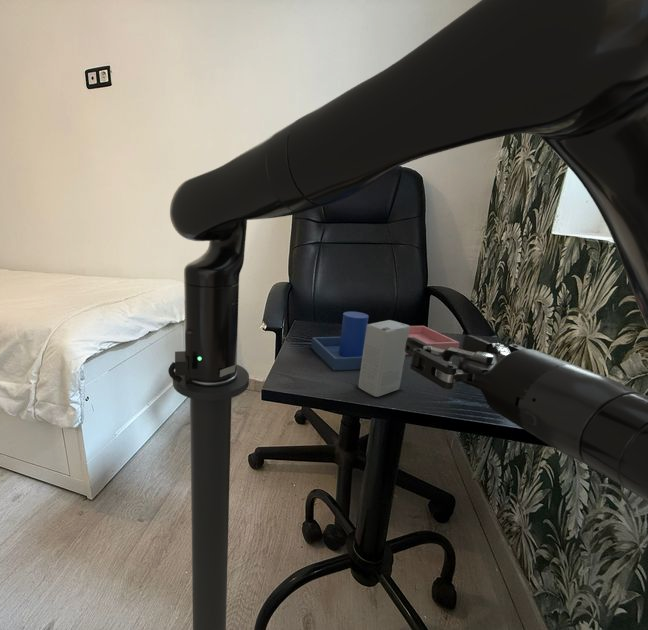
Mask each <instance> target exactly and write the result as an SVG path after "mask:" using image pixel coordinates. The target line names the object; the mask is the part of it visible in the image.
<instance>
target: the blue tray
mask: <svg viewBox="0 0 648 630" xmlns="http://www.w3.org/2000/svg"><path fill="white" fill-rule="evenodd" d="M340 338H341V336H321V337H320V336H319V337H318V336H316V337H311V346H310V347H311V349H312V351H314V352H315V353H316V354H317V355H318V356H319V357H320V358H321V359H322V361H323V362H325V364H327V366H329V367H330V368H331V370H333V371H348V370H349V371H351V370H352V371H353V370H361V363H362V357H342V356H340V355H339V347H340Z"/></svg>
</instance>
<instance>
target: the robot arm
mask: <svg viewBox="0 0 648 630" xmlns="http://www.w3.org/2000/svg"><path fill="white" fill-rule="evenodd" d="M520 134H528V135H531V136H537V137H539V138H540V139H541V140H542V141H543V142H544V143H545V144H547V146H549V148H550V149H551V150H552V151H553V152H554V153H555V154H557V156H558V157H559V158H560V159H561V160H562V162H563V163H564V164H565V165H566V166H567V167H568V168H569V169H570V170H571V171H572V173H573V174H574V175H575V176H576V177H577V179H578V180H579V182H580V183H581V184H582V186H583V187H584V189H585V191H587V193H588V194H589V196H590V198H591V199H592V201H593V203H594V205H595V206H596V208H597V209H598V212H599V213H600V215H601V217H602V219H603V221H604V222H605V225H606V227H607V229H608V232H609V234H610V236H611V239H612V241H613V243H614V246H615V248H616V251H617V254H618V256H619V259H620V262H621V264H622V267H623V270H624V273H625V275H626V278H627V281H628V283H629V286H630V289H631V292H632V295H633V296H634V299H635V302H636V304H637V305H636V306H637V307H638V309H639V312H640V315H641V316H642V319H643V321H644V323H645V325H646V328H647V329H648V0H480V1H479V2H477V3H475V4H474V5H473V6H472V7H469V9H467V10H465V12H463V13H462V14H461V15H459V16H458V17H457V18H455V19H454V20H452V21H451V22H450V23H449V24H447V25H446V26H444V27H443V28H442V29H440V30H439V31H437V32H436V33H435V34H433V35H432V36H431V37H429V38H428V39H427V40H425V41H424V42H423V43H421V44H419V45H418V46H417V47H416V48H414V49H413V50H411V51H410V52H408V53H407V54H405V55H404V56H403V57H401V58H400V59H399V60H397V61H396V62H394V63H392V64H390V65H389V66H388V67H386V68H384V69H383V70H381V71H379V72H378V73H376V74H375V75H373V76H371V77H368V78H367V79H366V80H365V79H364V80H363V81H362V82H360V83H357V85H355V86H353V87H351V88H350V89H347V90H346V91H344V92H343V93H341V94H340V95H338V96H336V97H334V98H333V99H332V100H329V101H328V102H326V103H324V104H323V105H322V106H319V107H318V108H315V109H314V110H312V111H310V112H307V113H306V114H304V115H302V116H301V117H299V118H298V119H296V120H294V121H293V122H291V123H289V124H287V125H286V126H284V127H283V128H281V129H279V130H278V131H276V132H275V133H273V134H272V135H270V136H268V138H266V139H265V140H263V141H261V142H259V143H257V144H256V145H254V146H252V147H250V148H249V149H246V150H245V151H244V152H242V153H240V154H239V155H236V157H233V158H232V159H231V160H229V161H227V162H226V163H224V164H223V165H220V166H218V167H216V168H214V169H212V170H209V171H207V172H204V173H201V174H199V175H196V176H193V177H191V178H188V179H186V180H185V181H183V182H182V183H180V185H178V187H177V188H176V190H175V191H174V193H173V195H172V198H171V200H170V205H169V219H170V222H171V225H172V227H173V228H174V230H175V232H176V233H177V234H178V235H179V236H180V237H181V238H183V239H185V240H188V241H192V242H209V243H208V247H207V249H206V250H205V251H204V252H203V254H201V255H200V256H198V257H197V258H196V259H194V260H192V261H190V262H188V263H187V264H186V265H185V266H184V267H183V293H184V294H183V297H184V298H183V300H184V304H183V305H184V321H183V327H184V328H183V329H184V335H183V337H184V350H182V351H181V350H180V351H179V350H178V351H174V361H172V363H170V365H169V367H168V369H167V371H168V372H167V373H168V375H169V377H170V378H171V379H172V380H173V379H174V380H175V381H177V382H178V383H180V382H181V381H182V378H181V377H180V376H182V375H185V378H186V384H195V385H198V386H203V387H219V386H224V385H227V384H230V383H232V382H233V381H234V380H235V379H236V378H237V365H238V336H239V335H238V333H239V332H238V330H239V298H240V297H239V296H240V276H241V275H240V274H241V271H242V269H243V266H244V262H245V250H246V240H247V239H246V238H247V229H248V228H247V226H248V221H254V220H255V221H256V220H265V219H266V220H267V219H276V218H283V217H288V216H295V215H300V214H304V213H307V212H310V211H311V212H312V211H314V210H317V209H321V208H323V207H327V206H331V205H334V204H336V203H339V202H342V201H343V200H346V199H349V198H350V197H353V196H354V195H356V194H357V193H359V192H361V191H362V190H364V189H366V188H367V187H369V186H370V185H372V184H373V183H374V182H376V181H378V180H379V179H380V178H382V177H384V176H385V175H387V174H388V173H389V172H391V171H394V170H395V169H397V168H399V167H401V166H403V165H405V164H408V163H410V162H414V161H416V160H419V159H423V158H425V157H428V156H431V155H435V154H439V153H442V152H446V151H449V150H453V149H457V148H460V147H464V146H468V145H471V144H476V143H480V142H485V141H489V140H493V139H498V138H503V137H507V136H513V135H520ZM461 346H462V348H458V349H457V348H453V347H449V348H447V349H446V350H444V349H439V348H435V347H431V346H430V345H428V344H426V343H424V342H422V341H420V340H418V339H417V338H415V337H408V338H407V341H406V346H405V352H406V353H408V354H409V355H408V356H411V361H410V362H411V363H410V366H409V368H410V369H411V370H412V371H413V372H415V373H417V374H419V375H421V376H422V377H424V378H425V379H427V380H429V381H430V382H432V383H433V384H435V385H437V386H439V387H440V388H442V389H445V390H453V389H454V385H455V383H459V382H461V383H464V384H465V385H466V386H469V387H471V388H474V389H478V390H480V392H481V393H482V395H483V398H484V399H485V401H486V404H487V405H488V406H489V408H490V409H491V410H492V411H493V412H495V413H497V414H498V415H499V416H501V417H503V418H504V419H506V420H508V421H510V422H511V423H512V424H514V425H515V426H518V427H519V428H521V429H522V430H524V431H526V432H527V433H529V434H531V435H532V436H534V437H535V438H537V439H538V440H540V441H542V442H543V443H544V444H546V445H548V446H550V447H551V448H553V449H555V450H557V451H558V452H560V453H562V454H563V455H565V456H568V457H570V458H573V459H574V460H577V461H579V462H581V463H583V464H585V465H587V466H588V467H590V468H591V469H593V470H594V471H596V472H598V473H599V474H601V475H603V476H604V477H606V478H608V479H609V480H611V481H613V482H614V483H615V484H617V485H619V486H620V487H622V488H624V489H626V490H627V491H629V492H631V493H633V494H634V495H635V496H638V497H639V498H641V499H643V500H645V501H646V502H648V395H646V394H644V393H641V392H639V391H637V390H634V389H633V388H630V387H628V386H627V385H626V384H623V383H621V382H619V381H617V380H615V379H613V378H610V377H608V376H605V375H603V374H600V373H597V372H595V371H593V370H590V369H587V368H585V367H582V366H579V365H576V364H574V363H572V362H569V361H566V360H564V359H561V358H558V357H555V356H553V355H550V354H548V353H545V352H542V351H539V350H538V349H537V350H536V349H532V348H526V347H525V346H521V345H519V344H515V343H511V344H508V346H505V345H504V344H502V343H500V342H489V341H487V340H485V339H483V338H481V337H478V336H476V335H472V334H467V335H466V334H465V335H464V337H463V342H462V345H461ZM439 356H440V357H439ZM441 357H442V358H441ZM454 357H459V359H458V364H457V366H456V365H455V364H453V358H454ZM174 372H175V373H174Z"/></svg>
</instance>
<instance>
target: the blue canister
mask: <svg viewBox="0 0 648 630" xmlns="http://www.w3.org/2000/svg"><path fill="white" fill-rule="evenodd" d="M369 317H370V316H369V315H368V314H367V313H364V312H359V311H344V312H343V313H342V321H341V331H340V337H341V338H340V347H339V355H340V356H342V357H362V356H363V348H364V342H365V335H366V328H367V324H369Z"/></svg>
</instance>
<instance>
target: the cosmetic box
mask: <svg viewBox="0 0 648 630" xmlns="http://www.w3.org/2000/svg"><path fill="white" fill-rule="evenodd" d="M410 326H411V325H409V324H406V323H402V322H399V321H396V320H392V319H387V320H383V321H377V322H372V323H368V324H367V328H366V335H365V342H364V348H363V356H362V363H361V369H359V376H358V384H357V387H358V388H359V389H360V390H361V391H363V392H365V393H367V394H368V395H371V396H373V397H376V398H379V397H381V396H384V395H387V394H389V393H394V392H395V391H398V390H400V386H401V382H402V376H403V371H404V364H405V359H406V355H405V354H406V352H405V346H406V341H407V338H408V337H409V332H410Z"/></svg>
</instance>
